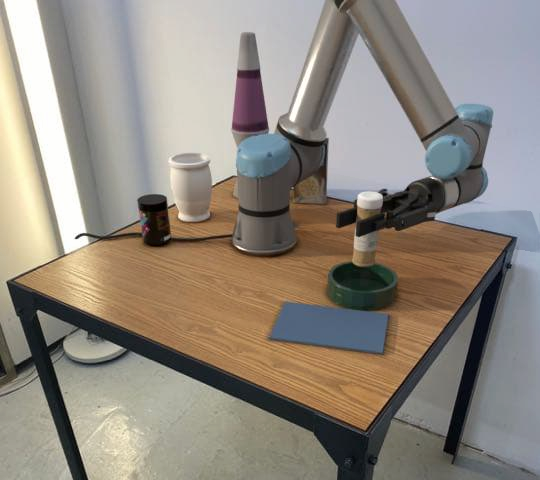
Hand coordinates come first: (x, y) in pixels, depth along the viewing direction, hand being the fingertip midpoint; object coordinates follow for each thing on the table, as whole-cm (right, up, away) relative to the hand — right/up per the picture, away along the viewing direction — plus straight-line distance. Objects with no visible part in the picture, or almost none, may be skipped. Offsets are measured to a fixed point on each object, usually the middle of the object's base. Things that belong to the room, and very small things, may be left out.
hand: (347, 225), depth 102 cm
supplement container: (-41, +4, +33) cm, 53 cm away
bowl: (+4, -11, +12) cm, 17 cm away
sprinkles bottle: (+4, -6, +8) cm, 11 cm away
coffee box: (-3, +20, +56) cm, 59 cm away
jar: (-34, +13, +46) cm, 59 cm away
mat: (-3, -18, +2) cm, 19 cm away
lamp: (-19, +23, +60) cm, 67 cm away
